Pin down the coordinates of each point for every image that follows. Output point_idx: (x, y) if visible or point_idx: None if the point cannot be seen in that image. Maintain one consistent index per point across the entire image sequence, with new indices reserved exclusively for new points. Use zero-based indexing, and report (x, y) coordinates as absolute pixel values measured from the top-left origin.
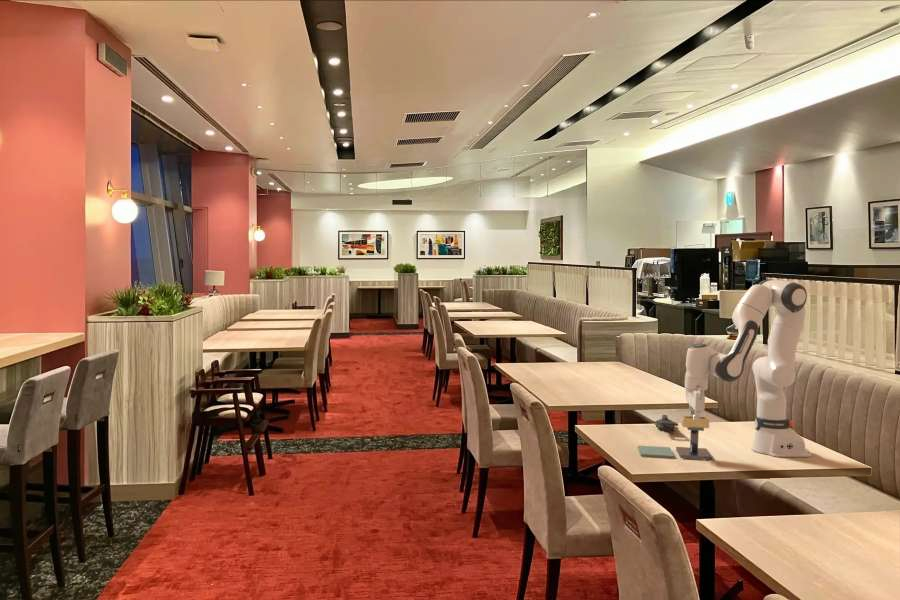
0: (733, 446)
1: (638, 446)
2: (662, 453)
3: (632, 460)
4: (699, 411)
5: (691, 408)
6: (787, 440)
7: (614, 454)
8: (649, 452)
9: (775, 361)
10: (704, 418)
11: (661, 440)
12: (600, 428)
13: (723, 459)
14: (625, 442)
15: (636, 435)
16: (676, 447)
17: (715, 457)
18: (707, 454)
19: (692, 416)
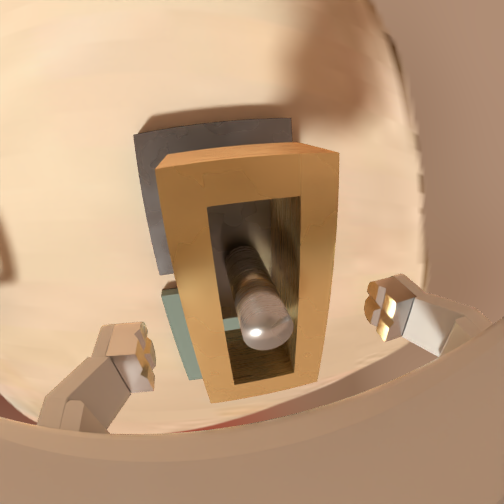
0: (17, 38)
1: (201, 378)
2: None
3: (331, 363)
4: (480, 328)
5: (107, 404)
6: None
7: (282, 399)
8: None
9: None
10: (221, 200)
11: (47, 313)
12: None
13: (251, 64)
14: (142, 397)
15: (46, 371)
16: (168, 273)
17: (225, 95)
18: (256, 136)
19: (206, 336)
